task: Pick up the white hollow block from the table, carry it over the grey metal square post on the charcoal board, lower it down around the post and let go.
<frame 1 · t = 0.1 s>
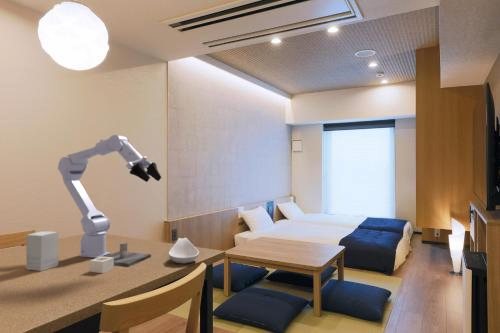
hand: (154, 179, 130), 32 cm above the table, tool tilted 50°, fingers open, 7 cm apart
post board: (123, 259, 132), on the table
supplement box: (42, 268, 121), on the table
spoon rest: (182, 258, 135), on the table
white hollow block: (102, 270, 118), on the table
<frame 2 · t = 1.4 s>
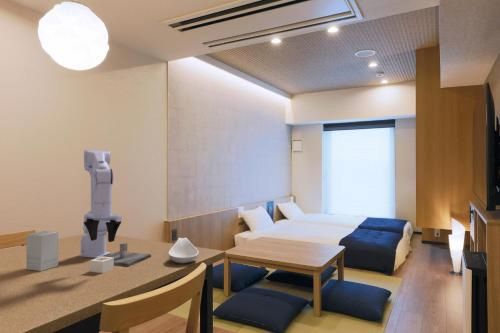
hand: (102, 240, 118), 10 cm above the table, tool pointing down, fingers open, 7 cm apart
nothing on the table moved.
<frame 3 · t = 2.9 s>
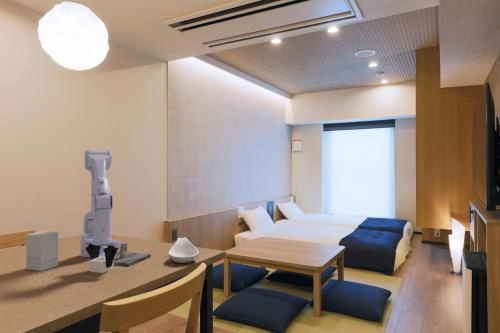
hand: (102, 266, 118), 1 cm above the table, tool pointing down, fingers closed on white hollow block, 5 cm apart
white hollow block: (102, 270, 118), on the table, touching gripper
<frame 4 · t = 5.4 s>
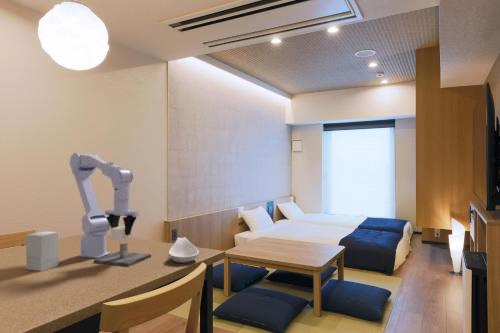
hand: (121, 234, 130), 10 cm above the table, tool pointing down, fingers closed on white hollow block, 5 cm apart
white hollow block: (121, 237, 130), point 9 cm above the table, touching gripper
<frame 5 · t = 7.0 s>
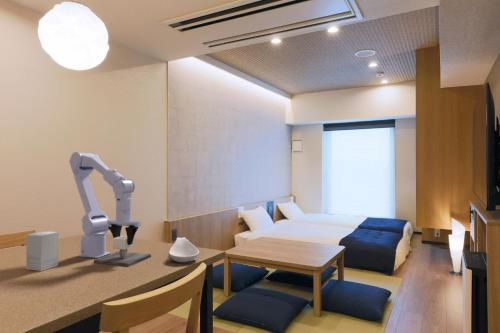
hand: (123, 243, 132), 6 cm above the table, tool pointing down, fingers closed on white hollow block, 5 cm apart
white hollow block: (123, 247, 132), point 5 cm above the table, touching gripper
when the fingers open (4 cm above the table, at t = 8.1 s): white hollow block drops 1 cm, resting on post board.
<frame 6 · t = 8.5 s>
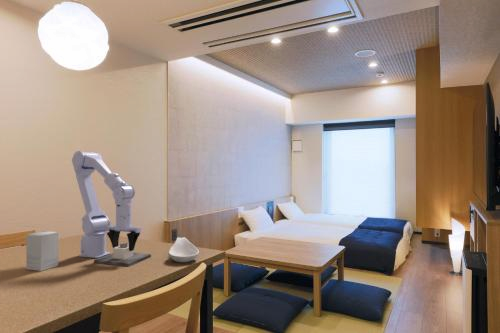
hand: (123, 249, 132), 4 cm above the table, tool pointing down, fingers open, 7 cm apart
white hollow block: (123, 257, 132), point 1 cm above the table, touching post board
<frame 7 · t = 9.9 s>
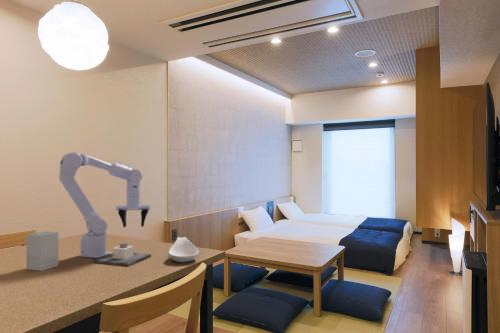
hand: (133, 226, 147), 10 cm above the table, tool pointing down, fingers open, 7 cm apart
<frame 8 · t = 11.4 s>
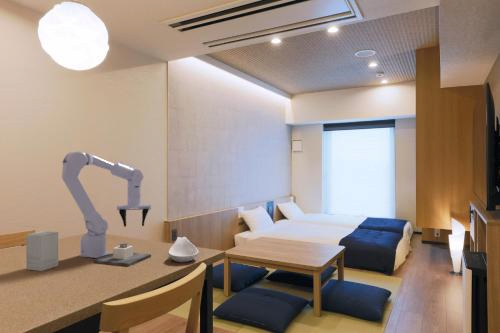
hand: (134, 225, 149), 10 cm above the table, tool pointing down, fingers open, 7 cm apart
at the end: white hollow block 0.1 cm off-centre on the post board, point 1.0 cm above the post board's base; white hollow block tilted 0°; the gripper is holding nothing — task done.
